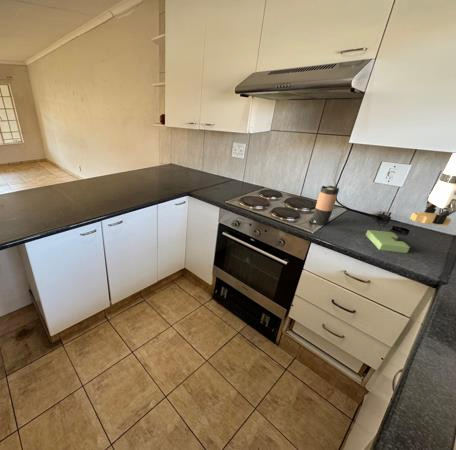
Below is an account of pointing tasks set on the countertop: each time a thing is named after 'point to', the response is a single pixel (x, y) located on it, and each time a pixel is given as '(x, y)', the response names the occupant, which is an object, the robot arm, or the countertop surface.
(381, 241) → the green pad
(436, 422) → the countertop surface
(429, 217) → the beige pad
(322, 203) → the travel mug
